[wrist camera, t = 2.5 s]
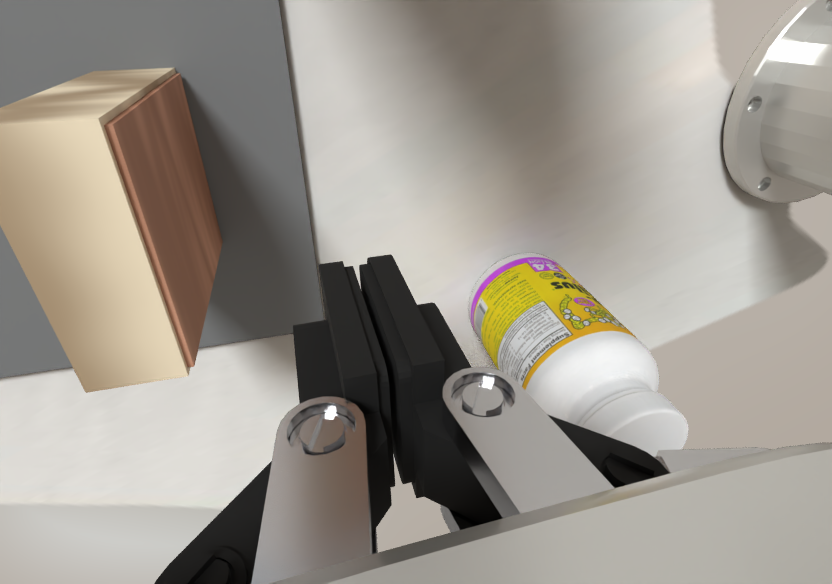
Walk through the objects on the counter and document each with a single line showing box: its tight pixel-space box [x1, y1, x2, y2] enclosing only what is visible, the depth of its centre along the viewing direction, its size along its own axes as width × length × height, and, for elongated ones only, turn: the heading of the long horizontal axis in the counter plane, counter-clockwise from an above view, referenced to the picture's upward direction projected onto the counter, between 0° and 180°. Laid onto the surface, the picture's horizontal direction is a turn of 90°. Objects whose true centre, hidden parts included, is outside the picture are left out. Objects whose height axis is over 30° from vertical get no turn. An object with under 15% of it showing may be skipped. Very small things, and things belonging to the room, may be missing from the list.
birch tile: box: [0, 68, 223, 393], centre depth 17 cm, size 3×8×10 cm, turn 1°
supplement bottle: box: [469, 253, 688, 457], centre depth 25 cm, size 7×7×13 cm
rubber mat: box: [0, 0, 324, 378], centre depth 21 cm, size 20×20×1 cm
